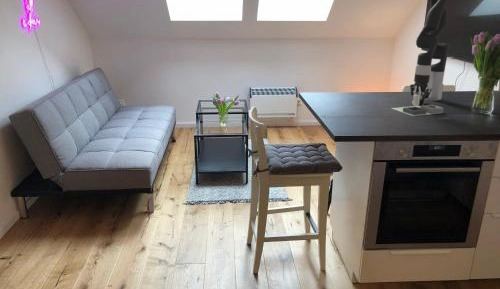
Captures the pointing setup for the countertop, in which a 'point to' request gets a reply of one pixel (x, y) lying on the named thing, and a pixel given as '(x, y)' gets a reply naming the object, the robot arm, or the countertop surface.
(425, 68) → the robot arm
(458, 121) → the countertop surface
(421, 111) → the header socket
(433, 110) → the circuit board
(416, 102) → the plug
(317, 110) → the countertop surface
